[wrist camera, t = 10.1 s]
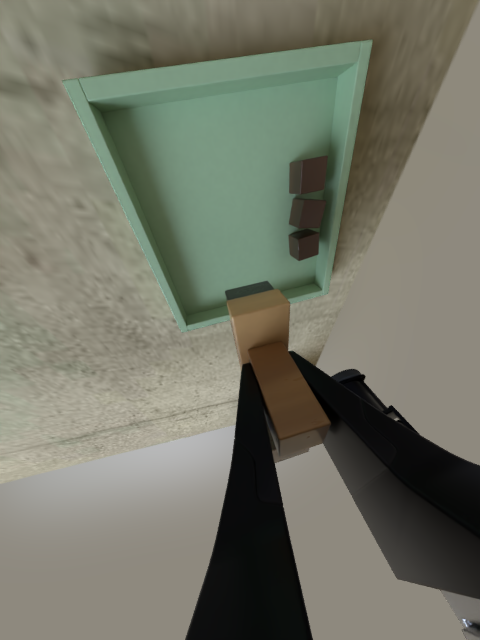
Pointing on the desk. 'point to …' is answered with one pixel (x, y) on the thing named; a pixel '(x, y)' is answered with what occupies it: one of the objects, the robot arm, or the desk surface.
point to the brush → (275, 367)
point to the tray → (227, 166)
